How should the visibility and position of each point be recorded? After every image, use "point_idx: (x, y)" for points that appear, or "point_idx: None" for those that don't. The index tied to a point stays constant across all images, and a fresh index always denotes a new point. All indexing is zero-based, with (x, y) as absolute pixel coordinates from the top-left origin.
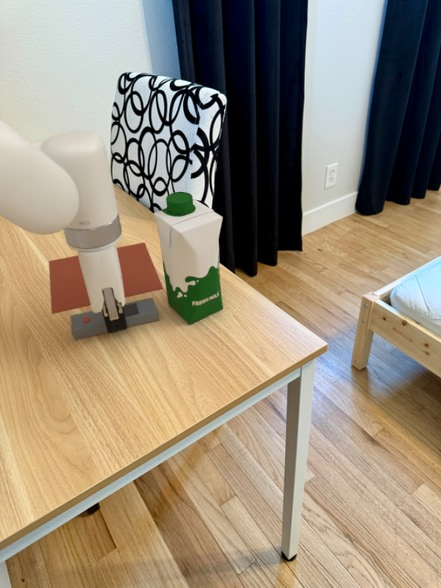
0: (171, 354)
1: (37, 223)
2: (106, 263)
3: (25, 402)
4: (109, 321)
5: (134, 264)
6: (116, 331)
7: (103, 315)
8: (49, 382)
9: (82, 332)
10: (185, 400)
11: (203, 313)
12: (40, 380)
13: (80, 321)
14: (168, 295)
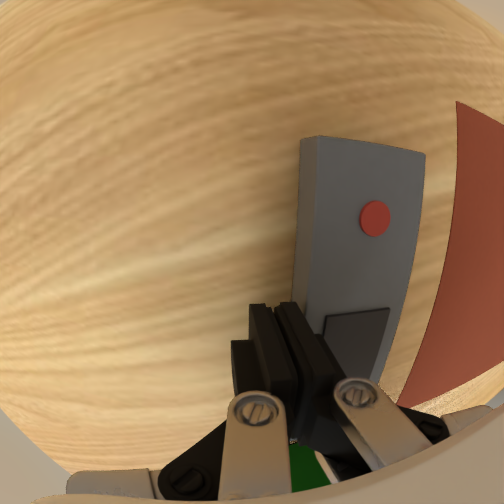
0: (128, 420)
1: None
2: None
3: (53, 6)
4: (259, 360)
5: (491, 345)
6: (249, 333)
7: (268, 379)
8: (91, 49)
9: (309, 184)
10: (11, 394)
11: None
12: (115, 19)
13: (376, 188)
14: (319, 475)
